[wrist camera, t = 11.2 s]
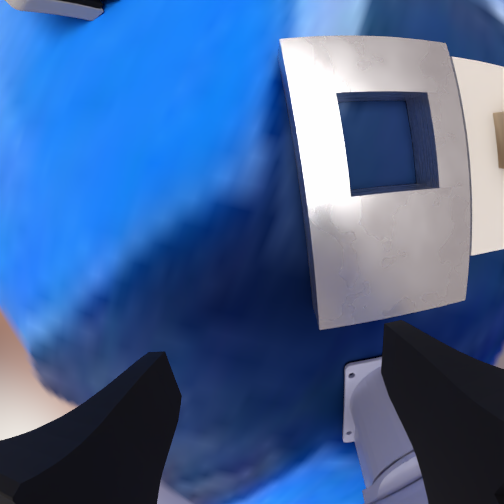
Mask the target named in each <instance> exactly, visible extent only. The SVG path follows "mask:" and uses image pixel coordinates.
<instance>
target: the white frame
mask: <svg viewBox="0 0 504 504" xmlns="http://www.w3.org/2000/svg"><path fill="white" fill-rule="evenodd" d="M278 62H279V67H280V72H281V77H282V83H283V88H284V93H285V99H286V105H287V110H288V116H289V122H290V128H291V134H292V140H293V147H294V153H295V160H296V167H297V174H298V181H299V188H300V195H301V203H302V210H303V218H304V226H305V235H306V243H307V252H308V262H309V271H310V281H311V292H312V303H313V309H314V313H315V316H316V319H317V323H318V326H319V330H323V329H329V328H335V327H341V326H347V325H353V324H359V323H364V322H370V321H375V320H380V319H385V318H390V317H395V316H400V315H405V314H409V313H414V312H418V311H423V310H427V309H431V308H436V307H440V306H444V305H448V304H452V303H456V302H460V301H464V300H465V297H466V289H467V279H468V267H469V251H470V184H469V168H468V157H467V147H466V138H465V131H464V124H463V117H462V111H461V105H460V100H459V95H458V90H457V85H456V80H455V76H454V72H453V68H452V64H451V60H450V56H449V52H448V49H447V45H446V43H440V42H434V41H426V40H418V39H408V38H397V37H382V36H314V37H299V38H287V39H279V48H278ZM385 100H406V105H407V111H408V117H409V123H410V129H411V136H412V144H413V152H414V161H415V171H416V182H417V183H415V184H404V185H393V186H383V187H373V188H363V189H354V190H350V183H349V175H348V167H347V159H346V152H345V145H344V138H343V131H342V125H341V119H340V113H339V108H338V102H352V101H385Z"/></svg>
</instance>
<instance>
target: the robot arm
mask: <svg viewBox="0 0 504 504" xmlns="http://www.w3.org/2000/svg"><path fill="white" fill-rule="evenodd" d="M351 373H353V374H352V375H349V374H351ZM181 397H182V396H181V393H180V391H179V388H178V385H177V383H176V380H175V378H174V375H173V372H172V370H171V367H170V364H169V361H168V359H167V356H166V353H165V352H149V353H147V354H146V355H144V356H143V357H141V358H140V359H139V360H138V361H136V362H135V363H134V364H133V365H132V366H130V367H129V368H128V369H127V370H126V371H124V372H123V373H122V374H121V375H119V376H118V377H117V378H116V379H115V380H113V381H112V382H111V383H110V384H108V385H107V386H106V387H105V388H103V389H102V390H101V391H99V392H98V393H96V394H95V395H94V396H92V397H91V398H90V399H88V400H87V401H86V402H84V403H83V404H81V405H80V406H78V407H77V408H75V409H73V410H72V411H70V412H68V413H67V414H65V415H64V416H62V417H60V418H58V419H56V420H54V421H52V422H50V423H47V424H45V425H43V426H41V427H39V428H37V429H35V430H32V431H30V432H27V433H24V434H21V435H19V436H15V437H12V438H9V439H5V440H1V441H0V504H157V499H158V492H159V486H160V480H161V476H162V472H163V469H164V465H165V462H166V459H167V455H168V452H169V449H170V446H171V442H172V439H173V436H174V433H175V429H176V426H177V422H178V418H179V412H180V405H181ZM348 431H349V432H348ZM343 441H344V442H353V441H354V442H355V446H356V450H357V454H358V458H359V462H360V466H361V470H362V474H363V478H364V482H365V486H366V489H364V490H363V491H362V492H363V497H364V501H365V504H504V369H501V368H498V367H495V366H493V365H490V364H487V363H484V362H482V361H479V360H477V359H474V358H472V357H470V356H468V355H466V354H464V353H461V352H459V351H457V350H455V349H453V348H451V347H449V346H448V345H446V344H444V343H442V342H440V341H438V340H437V339H435V338H433V337H431V336H429V335H428V334H426V333H424V332H422V331H421V330H419V329H417V328H415V327H414V326H412V325H410V324H408V323H406V322H404V321H402V320H399V321H395V322H390V323H385V324H384V337H383V352H382V357H378V358H373V359H368V360H363V361H358V362H353V363H349V364H347V365H346V366H345V369H344V416H343Z"/></svg>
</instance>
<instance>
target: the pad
mask: <svg viewBox="0 0 504 504" xmlns="http://www.w3.org/2000/svg"><path fill="white" fill-rule="evenodd" d="M450 60H451V64H452V68H453V72H454V76H455V80H456V85H457V90H458V95H459V100H460V105H461V111H462V117H463V124H464V131H465V138H466V147H467V157H468V168H469V184H470V251H469V255H476V254H481V253H486V252H491V251H496V250H501V249H504V169H502V168H499V166H498V153H497V143H496V134H495V126H494V119H493V113H496V112H504V67H502V66H498V65H493V64H489V63H484V62H480V61H475V60H469V59H464V58H458V57H450Z"/></svg>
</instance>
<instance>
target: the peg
mask: <svg viewBox="0 0 504 504" xmlns="http://www.w3.org/2000/svg"><path fill="white" fill-rule="evenodd" d="M493 119H494V126H495V134H496V143H497V153H498V166H499V168H502V169H504V112H496V113H493Z"/></svg>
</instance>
